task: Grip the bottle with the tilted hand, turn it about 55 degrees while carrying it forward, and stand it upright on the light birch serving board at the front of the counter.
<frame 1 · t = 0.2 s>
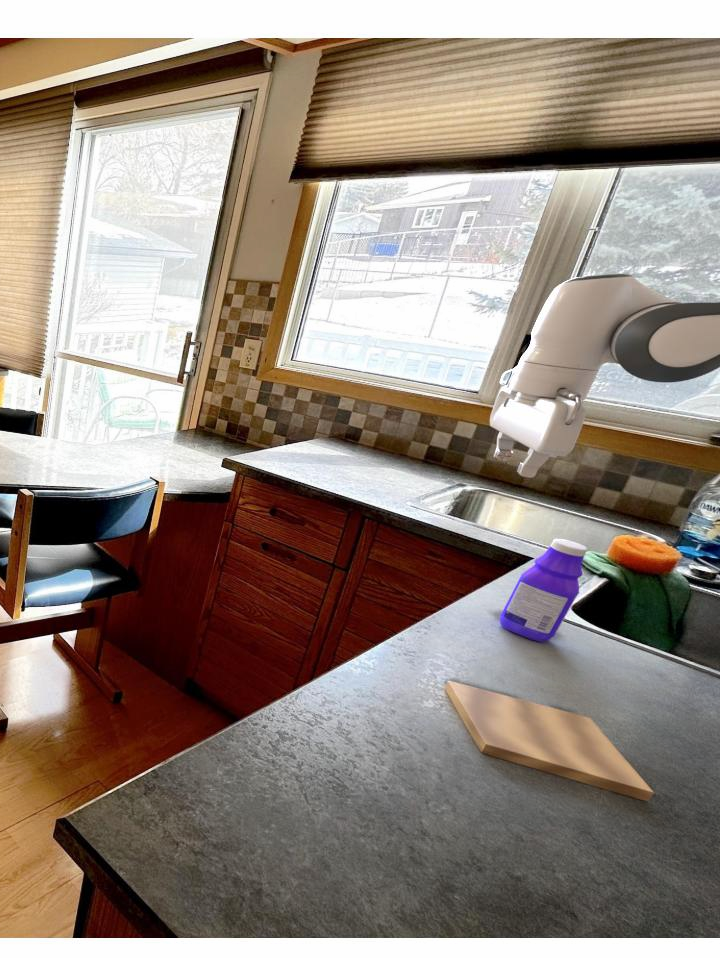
hand: (512, 467, 99), 28 cm above the countertop, tool pointing down, fingers open, 8 cm apart
board: (534, 739, 81), on the countertop
bottle: (523, 633, 106), on the countertop
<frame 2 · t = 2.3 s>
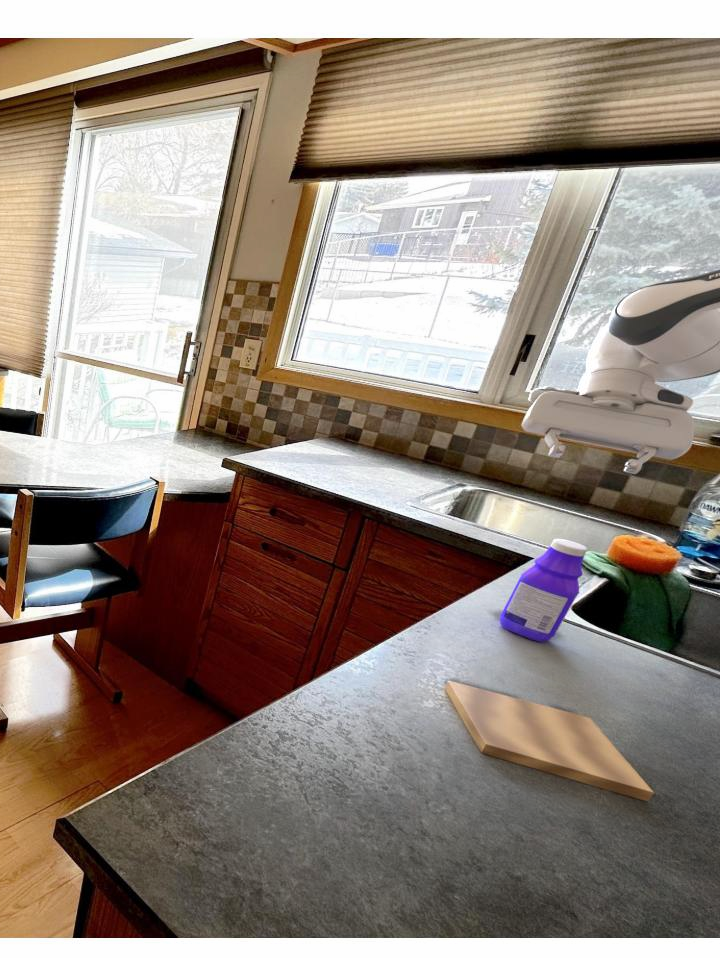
hand: (592, 463, 104), 29 cm above the countertop, tool tilted 45°, fingers open, 8 cm apart
nothing on the countertop moved.
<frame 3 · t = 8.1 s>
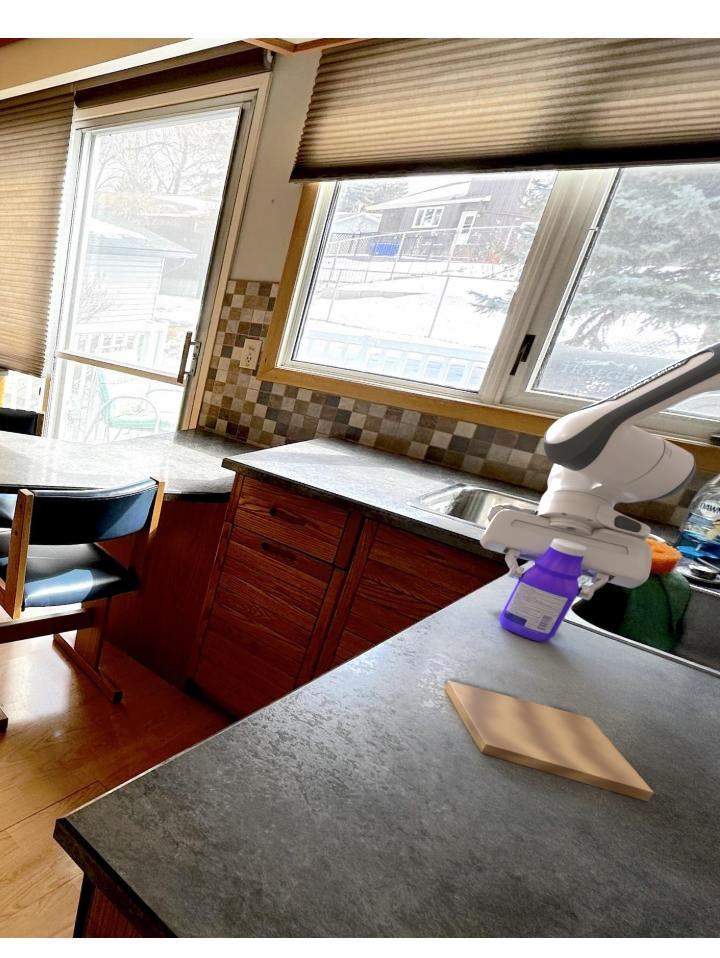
hand: (548, 587, 102), 9 cm above the countertop, tool tilted 45°, fingers closed on bottle, 7 cm apart
bottle: (523, 633, 106), on the countertop, touching gripper
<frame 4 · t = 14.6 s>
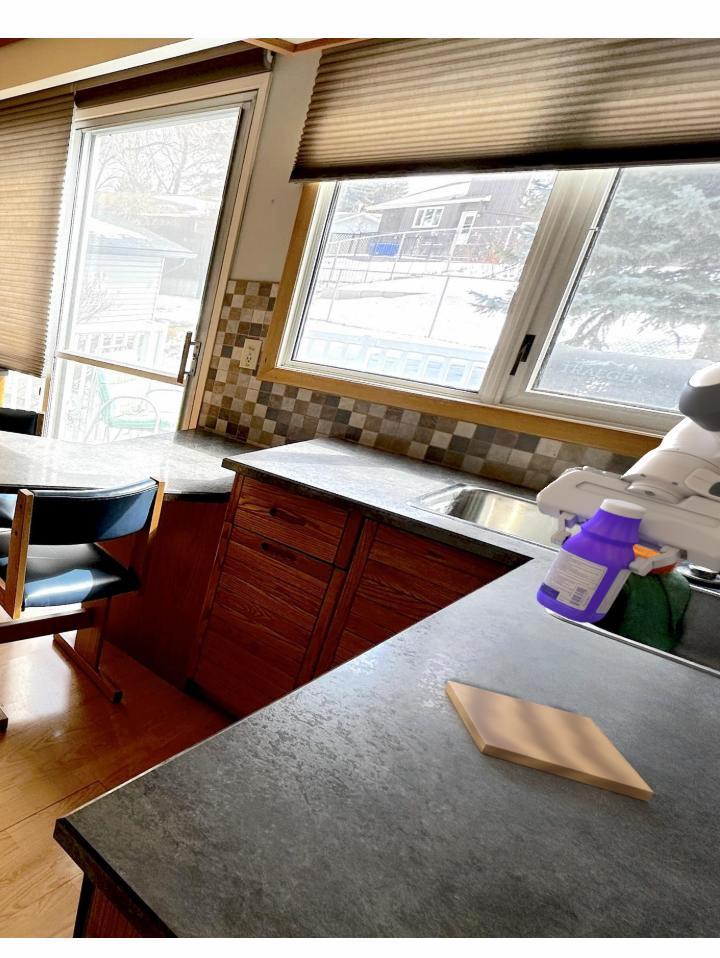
hand: (594, 556, 86), 21 cm above the countertop, tool tilted 45°, fingers closed on bottle, 7 cm apart
bottle: (565, 613, 89), point 12 cm above the countertop, touching gripper
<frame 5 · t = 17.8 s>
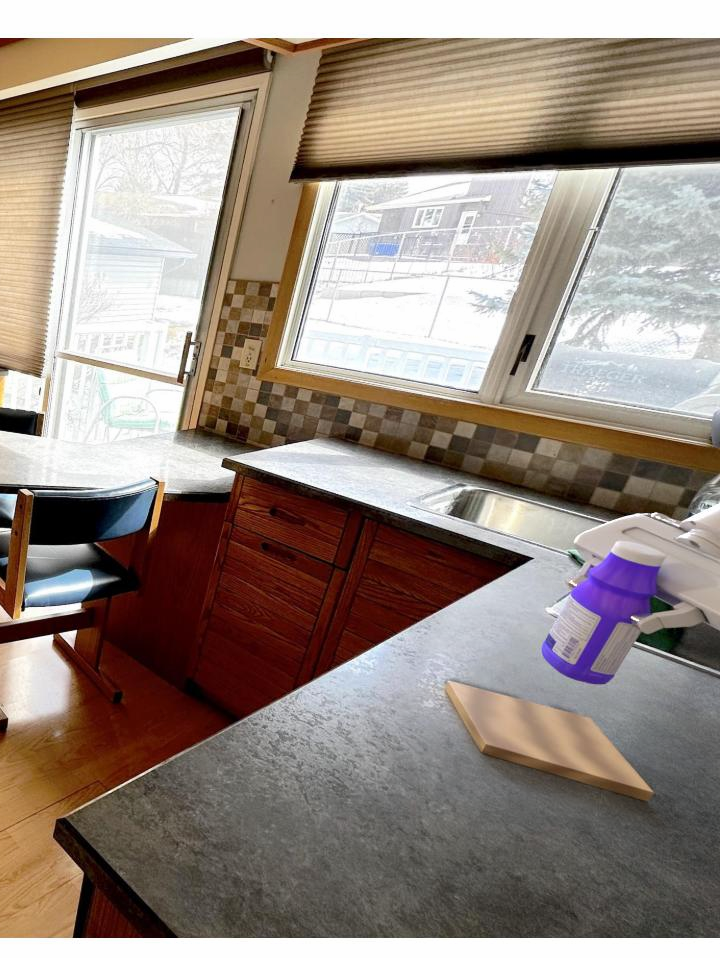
hand: (602, 606, 74), 20 cm above the countertop, tool tilted 45°, fingers closed on bottle, 7 cm apart
bottle: (570, 671, 77), point 11 cm above the countertop, touching gripper
when the fingers open (11 cm above the countertop, at t = 21.0 s): bottle stays where it is, resting on board.
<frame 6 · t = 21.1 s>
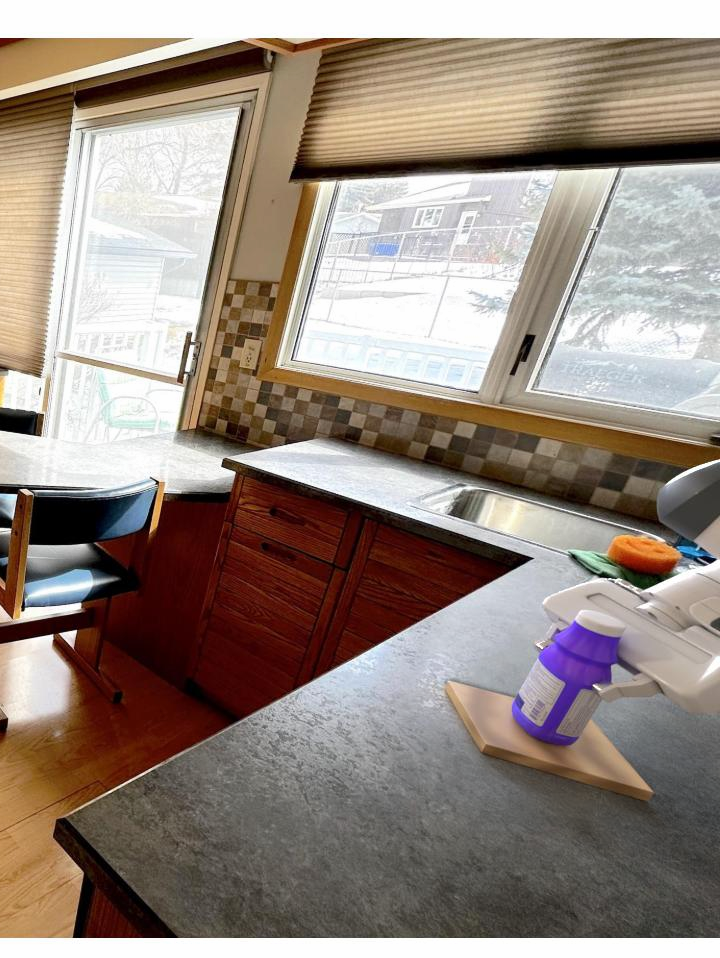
hand: (566, 671, 77), 11 cm above the countertop, tool tilted 45°, fingers open, 7 cm apart
bottle: (538, 730, 81), point 1 cm above the countertop, touching board
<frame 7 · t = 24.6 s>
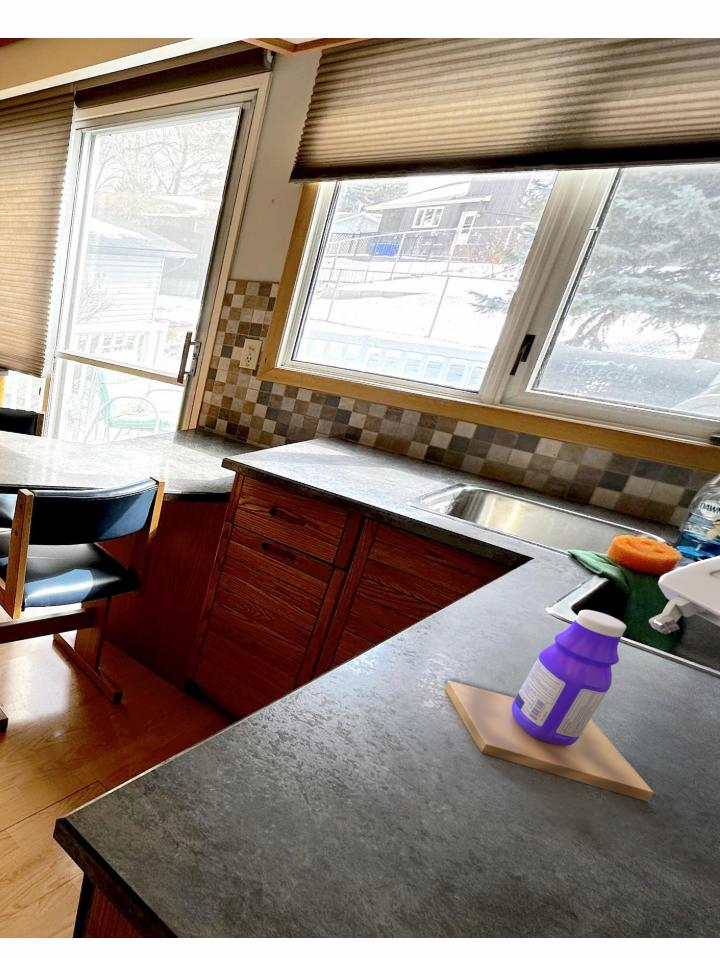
hand: (693, 649, 75), 16 cm above the countertop, tool tilted 45°, fingers open, 8 cm apart
nothing on the countertop moved.
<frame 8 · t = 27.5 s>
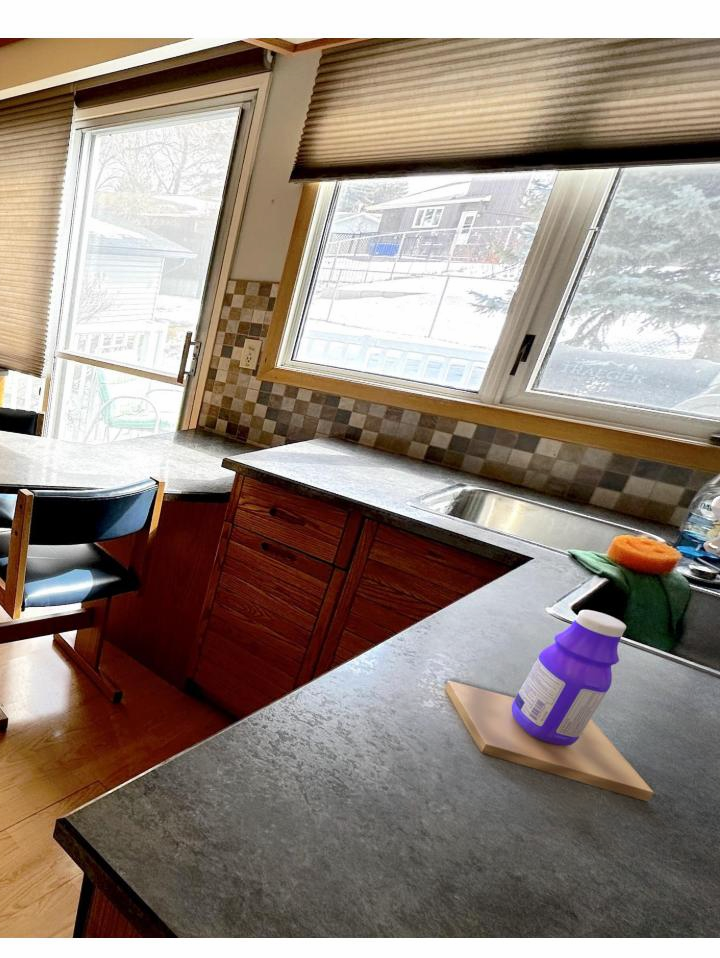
nothing on the countertop moved.
at the end: bottle inside the target area on the board (0.1 cm from its centre), point 1.3 cm above the board's base; bottle tilted 0°; the gripper is holding nothing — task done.
